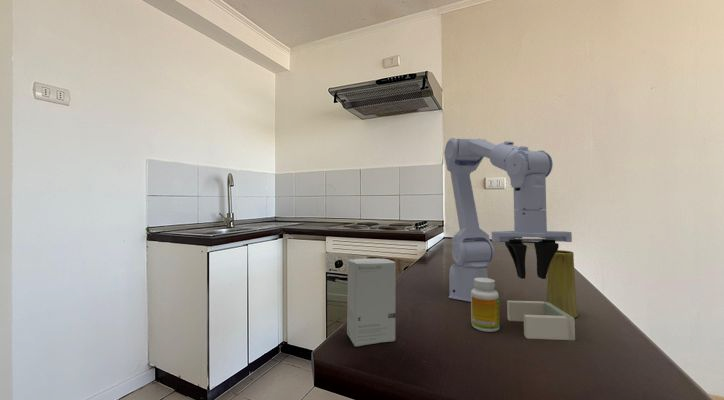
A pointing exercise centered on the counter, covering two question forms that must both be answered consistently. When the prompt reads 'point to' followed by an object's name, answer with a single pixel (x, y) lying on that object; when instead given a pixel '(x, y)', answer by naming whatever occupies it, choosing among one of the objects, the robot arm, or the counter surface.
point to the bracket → (542, 320)
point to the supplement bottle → (485, 305)
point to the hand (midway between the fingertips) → (531, 277)
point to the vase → (562, 282)
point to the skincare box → (371, 301)
